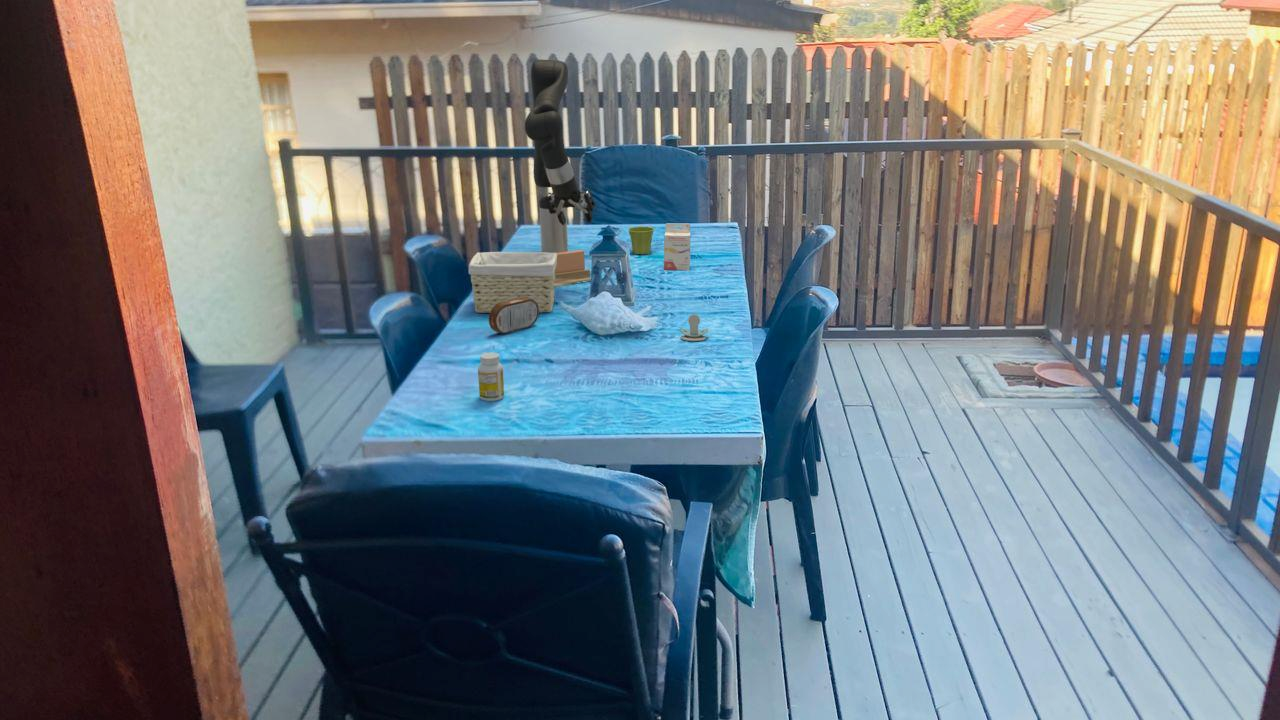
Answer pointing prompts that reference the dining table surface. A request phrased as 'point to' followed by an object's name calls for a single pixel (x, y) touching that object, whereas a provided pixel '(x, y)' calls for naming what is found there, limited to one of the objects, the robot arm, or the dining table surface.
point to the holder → (571, 277)
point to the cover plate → (570, 261)
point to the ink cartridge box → (677, 247)
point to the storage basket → (513, 278)
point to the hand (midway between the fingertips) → (577, 222)
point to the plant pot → (641, 239)
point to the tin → (513, 315)
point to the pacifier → (693, 330)
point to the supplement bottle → (490, 377)
